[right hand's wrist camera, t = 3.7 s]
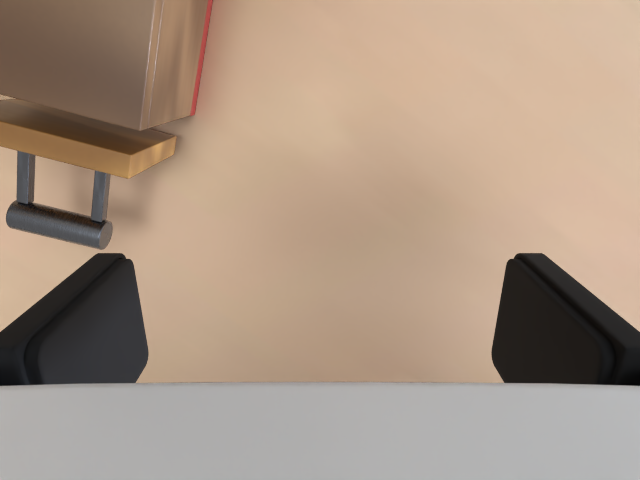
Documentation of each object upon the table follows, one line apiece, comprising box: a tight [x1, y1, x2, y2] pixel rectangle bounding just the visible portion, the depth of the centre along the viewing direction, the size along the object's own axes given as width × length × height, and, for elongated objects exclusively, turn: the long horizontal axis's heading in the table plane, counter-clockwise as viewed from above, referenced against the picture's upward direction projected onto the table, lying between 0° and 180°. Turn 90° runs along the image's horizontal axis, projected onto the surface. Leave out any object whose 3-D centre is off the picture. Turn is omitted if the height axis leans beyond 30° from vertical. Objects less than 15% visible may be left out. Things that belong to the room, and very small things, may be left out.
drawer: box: [0, 99, 176, 250], centre depth 21 cm, size 25×9×7 cm, turn 165°
